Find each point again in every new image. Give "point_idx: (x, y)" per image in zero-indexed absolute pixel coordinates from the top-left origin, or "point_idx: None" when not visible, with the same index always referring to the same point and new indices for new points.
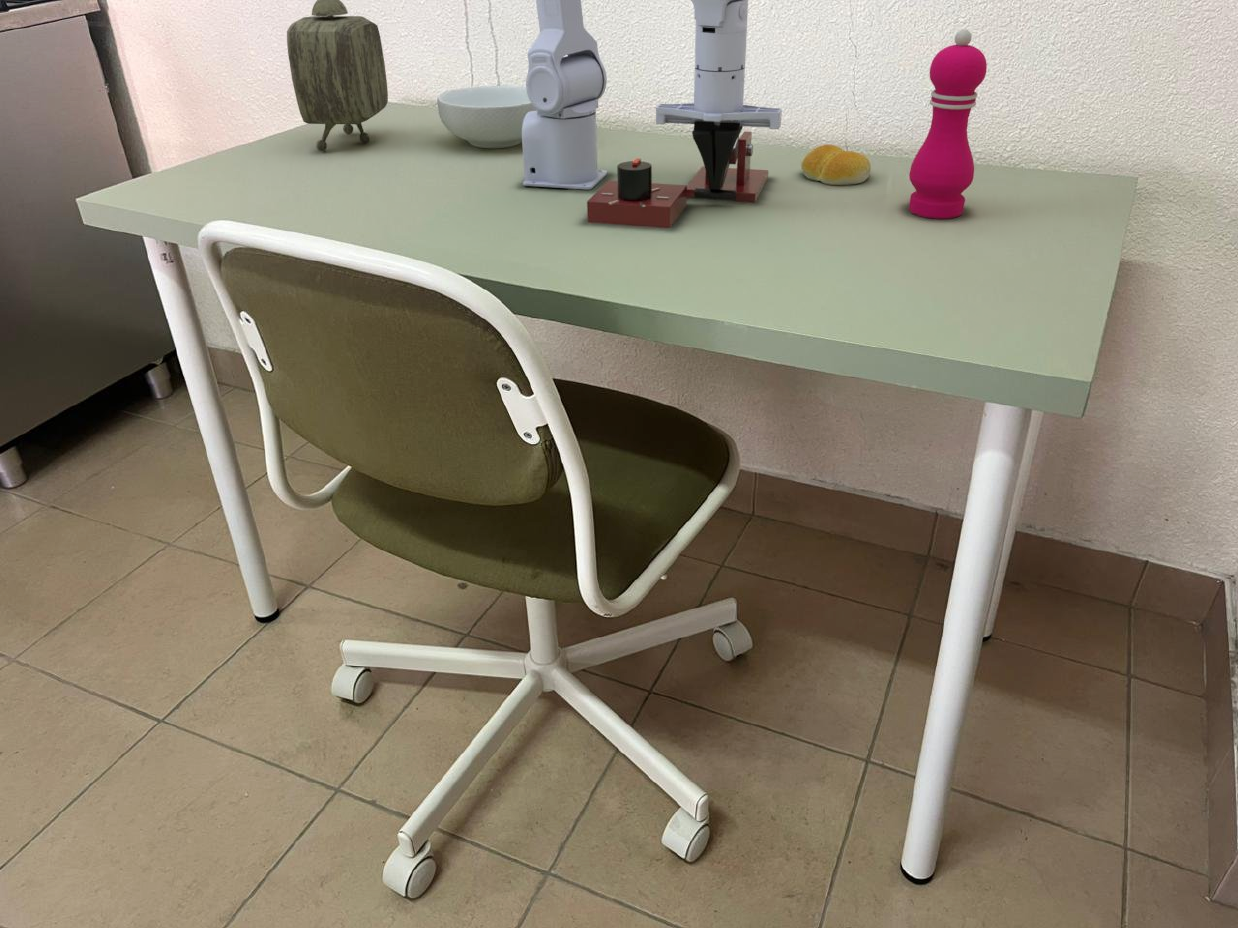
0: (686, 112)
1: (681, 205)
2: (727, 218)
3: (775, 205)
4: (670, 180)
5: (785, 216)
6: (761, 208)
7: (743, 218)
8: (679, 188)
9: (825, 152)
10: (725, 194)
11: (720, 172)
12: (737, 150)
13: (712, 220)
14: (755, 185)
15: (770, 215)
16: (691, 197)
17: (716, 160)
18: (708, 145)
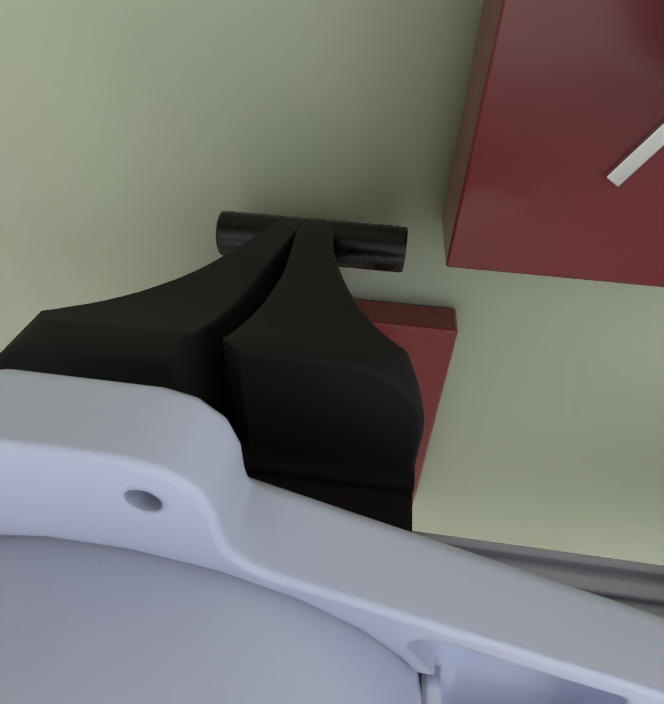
0: (513, 627)
1: (466, 118)
2: (235, 70)
3: (118, 269)
4: (504, 464)
5: (24, 143)
6: (150, 232)
7: (168, 84)
8: (485, 207)
9: None
10: (260, 222)
11: (248, 243)
12: None
13: (297, 19)
14: None
15: (82, 148)
16: (426, 309)
17: (253, 275)
18: (282, 321)
